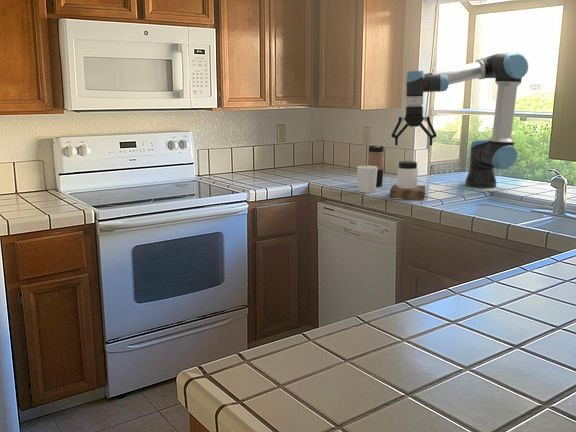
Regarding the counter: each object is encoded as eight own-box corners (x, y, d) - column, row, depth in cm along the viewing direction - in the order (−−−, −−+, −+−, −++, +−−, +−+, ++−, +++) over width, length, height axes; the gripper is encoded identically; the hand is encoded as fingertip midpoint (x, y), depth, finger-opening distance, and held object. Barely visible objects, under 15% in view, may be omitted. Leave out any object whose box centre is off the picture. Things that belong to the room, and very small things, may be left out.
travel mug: (371, 187, 299) (372, 147, 294) (365, 184, 306) (366, 146, 302) (385, 186, 301) (386, 147, 296) (379, 184, 308) (380, 145, 304)
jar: (408, 190, 269) (409, 163, 266) (393, 188, 274) (394, 162, 272) (419, 187, 275) (421, 161, 272) (405, 185, 280) (406, 160, 278)
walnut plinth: (424, 194, 281) (425, 185, 280) (423, 200, 266) (423, 191, 266) (392, 192, 284) (393, 184, 283) (389, 198, 270) (390, 190, 269)
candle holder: (375, 189, 293) (375, 165, 290) (378, 193, 283) (379, 168, 281) (355, 189, 293) (355, 165, 290) (358, 193, 283) (358, 168, 280)
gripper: (385, 106, 268) (385, 153, 273) (442, 105, 262) (441, 153, 267) (387, 105, 275) (386, 151, 280) (442, 105, 269) (441, 151, 274)
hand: (413, 152), depth 274 cm, fingers open, 13 cm apart
